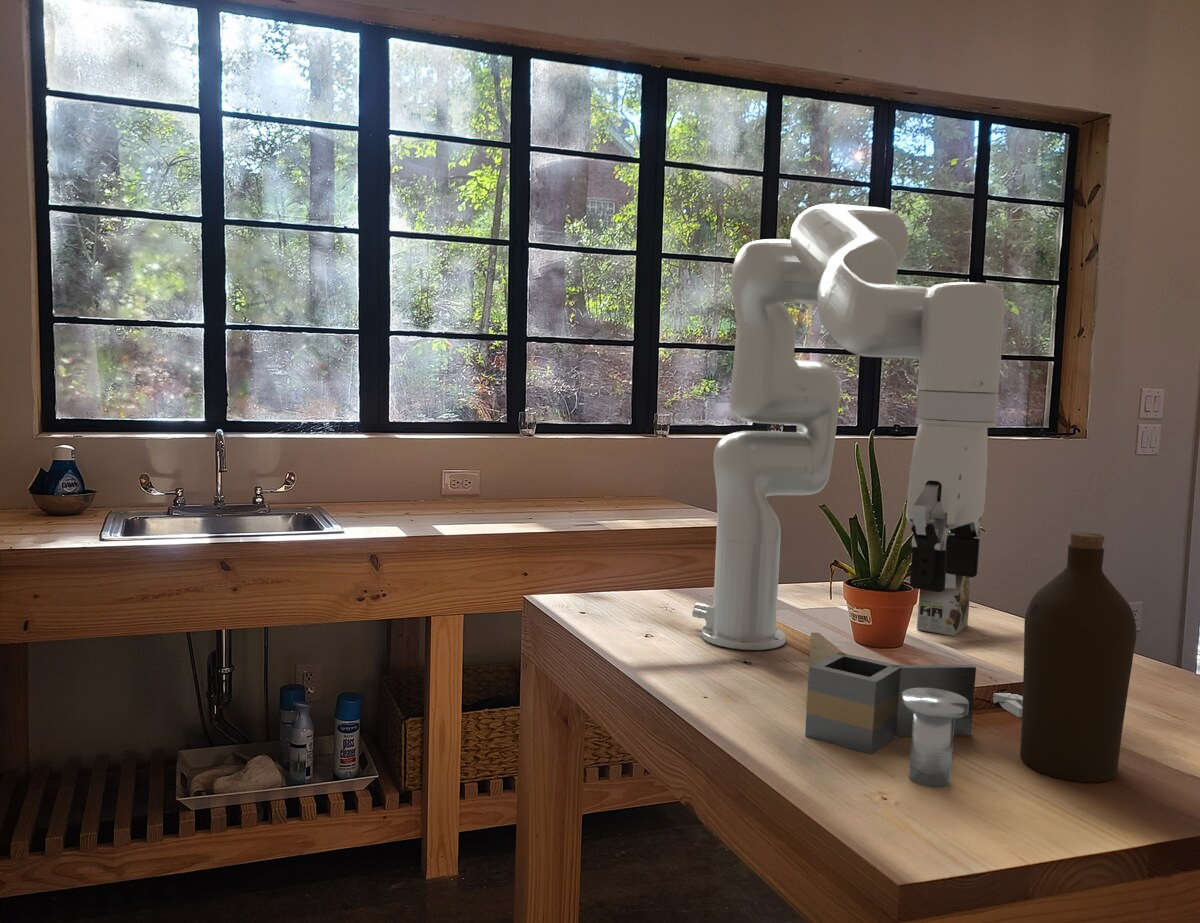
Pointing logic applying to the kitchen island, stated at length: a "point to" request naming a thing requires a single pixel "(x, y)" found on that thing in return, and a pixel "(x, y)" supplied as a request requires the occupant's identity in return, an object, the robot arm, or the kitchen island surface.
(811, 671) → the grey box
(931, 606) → the coffee box
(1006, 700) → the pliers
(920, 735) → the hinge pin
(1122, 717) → the olive oil
